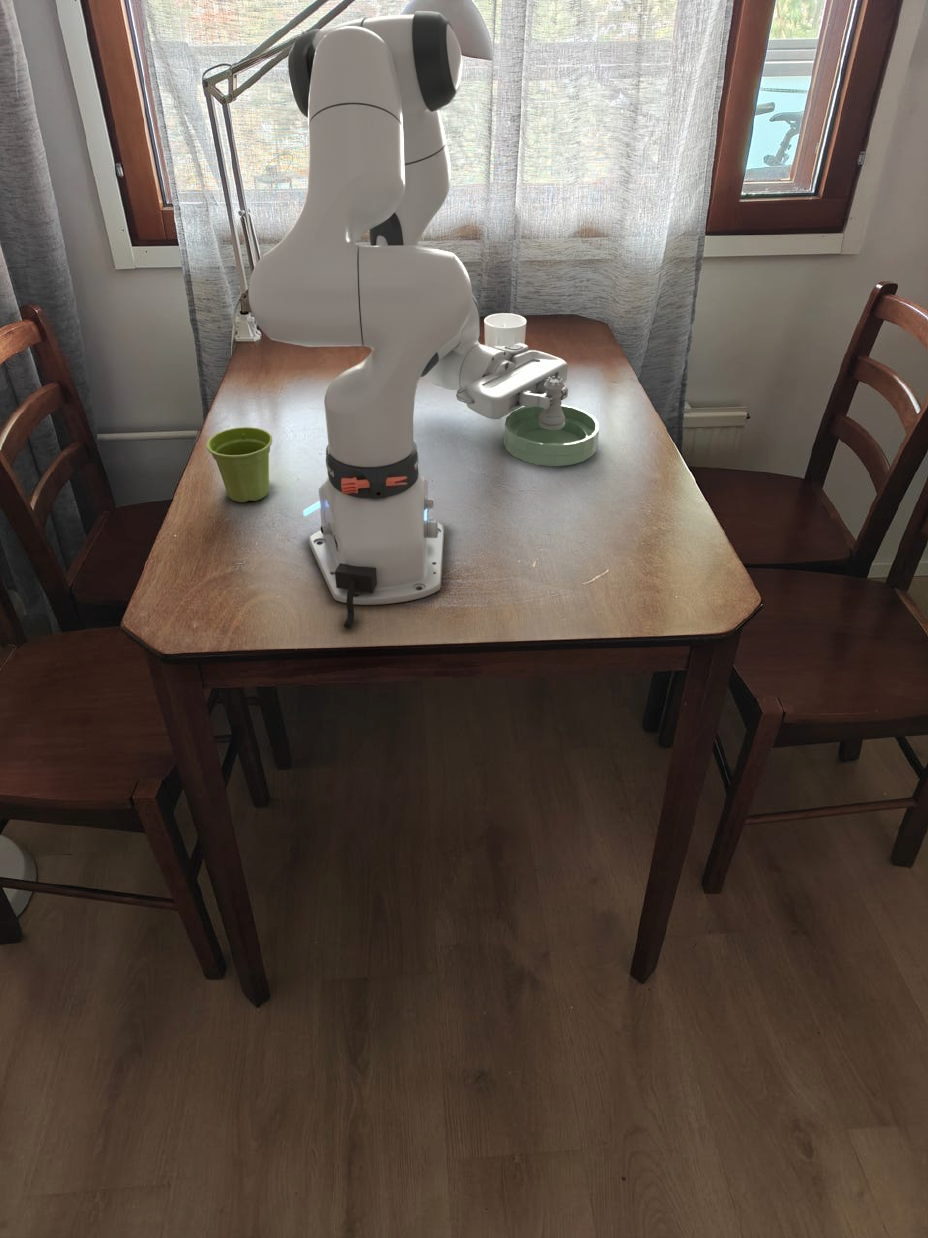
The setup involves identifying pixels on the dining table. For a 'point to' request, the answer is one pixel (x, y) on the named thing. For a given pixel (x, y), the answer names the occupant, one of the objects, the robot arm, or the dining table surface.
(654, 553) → the dining table surface
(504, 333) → the white cup
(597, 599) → the dining table surface
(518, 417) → the bowl
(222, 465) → the plant pot
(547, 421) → the rook chess piece
